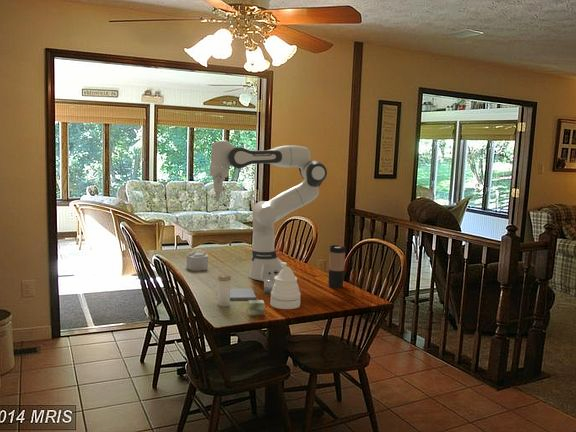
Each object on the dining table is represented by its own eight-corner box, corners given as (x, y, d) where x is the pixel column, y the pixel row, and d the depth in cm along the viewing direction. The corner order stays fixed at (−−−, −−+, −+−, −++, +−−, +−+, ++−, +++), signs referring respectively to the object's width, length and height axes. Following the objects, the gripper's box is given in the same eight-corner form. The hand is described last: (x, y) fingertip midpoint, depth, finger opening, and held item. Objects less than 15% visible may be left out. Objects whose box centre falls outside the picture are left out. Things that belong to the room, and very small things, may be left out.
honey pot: (264, 303, 220) (265, 262, 218) (285, 298, 229) (287, 259, 226) (284, 311, 211) (286, 268, 208) (306, 305, 220) (308, 264, 217)
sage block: (262, 311, 209) (263, 300, 208) (264, 315, 205) (264, 303, 205) (248, 312, 208) (248, 300, 207) (249, 315, 204) (249, 303, 204)
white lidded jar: (229, 302, 220) (230, 274, 218) (230, 306, 214) (231, 278, 213) (217, 302, 219) (217, 275, 217) (217, 306, 213) (218, 278, 212)
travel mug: (330, 288, 247) (333, 248, 244) (325, 284, 254) (327, 245, 252) (345, 288, 249) (347, 248, 246) (340, 284, 256) (342, 245, 254)
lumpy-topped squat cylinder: (191, 271, 271) (191, 255, 270) (183, 265, 282) (183, 250, 281) (209, 269, 276) (210, 253, 275) (201, 264, 287) (201, 249, 286)
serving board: (252, 290, 238) (252, 288, 238) (255, 299, 225) (255, 297, 224) (217, 291, 235) (218, 288, 235) (219, 300, 222) (219, 297, 222)
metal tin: (275, 290, 240) (276, 278, 239) (277, 294, 234) (278, 281, 234) (263, 290, 239) (263, 278, 238) (264, 294, 233) (265, 281, 232)
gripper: (225, 173, 242) (224, 202, 243) (224, 173, 262) (223, 200, 263) (212, 172, 241) (210, 202, 242) (212, 172, 261) (210, 199, 262)
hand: (217, 201), depth 252 cm, fingers open, 8 cm apart
